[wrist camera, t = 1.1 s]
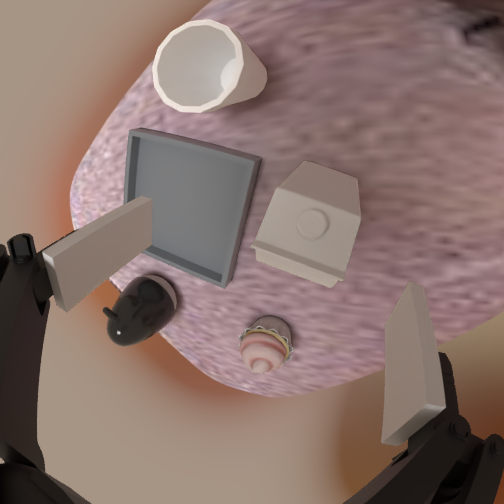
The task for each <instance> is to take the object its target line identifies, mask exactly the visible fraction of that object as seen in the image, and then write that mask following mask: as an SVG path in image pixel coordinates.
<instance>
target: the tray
mask: <svg viewBox="0 0 504 504" xmlns="http://www.w3.org/2000/svg"><path fill="white" fill-rule="evenodd" d="M261 159H262V158H261V157H258V156H254V155H251V154H248V153H244V152H241V151H237V150H233V149H230V148H226V147H222V146H219V145H215V144H211V143H207V142H203V141H199V140H195V139H191V138H187V137H183V136H178V135H174V134H169V133H165V132H160V131H155V130H150V129H145V128H137V129H131V130H129V136H128V145H127V156H126V168H125V183H124V204H126V203H128V202H130V201H132V200H134V199H136V198H138V197H140V196H144V197H147V198H151V199H152V245H151V246H149V247H148V248H147V249H145V250H144V251H143V252H141V253H144V254H146V255H148V256H150V257H153V258H155V259H157V260H159V261H161V262H164V263H166V264H168V265H170V266H173V267H175V268H177V269H180V270H182V271H184V272H186V273H189V274H191V275H193V276H196V277H198V278H200V279H203V280H205V281H207V282H210V283H212V284H215V285H217V286H219V287H222V288H224V289H225V288H226V286H227V285H228V284H229V282H230V281H231V279H232V277H233V273H234V268H235V264H236V260H237V256H238V252H239V248H240V244H241V240H242V235H243V231H244V227H245V223H246V219H247V215H248V211H249V207H250V203H251V199H252V195H253V191H254V187H255V183H256V179H257V175H258V171H259V167H260V163H261ZM124 204H123V205H124Z"/></svg>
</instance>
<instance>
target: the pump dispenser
mask: <svg viewBox="0 0 504 504" xmlns="http://www.w3.org/2000/svg"><path fill="white" fill-rule="evenodd" d="M176 305H177V300H176V295H175V292H174V290H173V288H172V287H171V285H170V284H169V283H168V282H167V281H165V280H164V279H162V278H161V277H158V276H155V275H145V276H142V277H137V278H135V279H133V280H132V281H131V282H130V283H129V284H128V285H127V286H126V288H125V289H124V290H123V291H122V293H121V294H120V295H119V297H118V299H117V300H116V302H115V304H114V306H113V308H112V310H110V309H109V308H108V307H104V308H103V312H104V314H106V316H107V317H108V322H107V333H108V335H109V337H110V339H111V340H112V341H113V342H114V343H115V344H117V345H119V346H130V345H134V344H137V343H140V342H142V341H144V340H146V339H148V338H149V337H152V336H153V335H155V334H156V333H158V332H159V331H160V330H161V329H163V328H164V327H165V326H166V325H167V324H168V323H169V322H170V321H171V320H172V319H173V317H174V314H175V310H176Z"/></svg>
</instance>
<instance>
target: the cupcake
mask: <svg viewBox="0 0 504 504" xmlns="http://www.w3.org/2000/svg"><path fill="white" fill-rule="evenodd" d="M238 338H239V339H240V341H241V343H240V344H239V345H238V347H239V348H240V352H241V355H242V359H243V361H244V364H245V365H246V367H247V368H248V369H249V370H251V371H252V372H254V373H257V374H261V373H265V372H270V371H273V370H276V369H278V368H280V367H281V366H282V365H284V364H285V361H289V360H291V359H292V357H291V352H292V351H293V350H294V348H293V346H292V344H291V333H290V329H289V326H288V325H287V324H286V323H285V322H284V321H283V320H281V319H279V318H277V317H274V316H265V317H262V318H260V319H258V320H257V321H256V322H255V323H254V324H253V325H252V326H250V327H247V328H245V332H244V333H242V334H241V335H239V336H238Z"/></svg>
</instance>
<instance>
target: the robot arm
mask: <svg viewBox="0 0 504 504" xmlns="http://www.w3.org/2000/svg"><path fill="white" fill-rule="evenodd" d="M7 245H8V249H9V252H10V256H9V255H8V254H7V250H6V247H5V246H4V245H2V244H0V457H1V458H2V459H3V460H4V461H5V463H3V464H0V504H91V503H90V502H88V501H87V500H85V499H84V498H83V497H81V496H80V495H79V494H77V493H76V492H74V491H73V490H72V489H71V488H69V487H68V486H66V485H65V484H63V483H61V482H60V481H58V480H56V479H55V478H53V477H52V476H50V475H48V474H47V473H45V464H44V458H43V454H42V451H41V449H40V447H39V445H38V442H37V402H38V386H39V374H40V364H41V355H42V349H43V341H44V335H45V329H46V324H47V318H48V313H49V308H50V301H49V298H50V297H51V296H52V295H54V298H55V301H56V305H57V306H59V307H60V308H61V309H63V310H64V311H66V312H68V311H69V310H70V309H72V308H73V307H74V306H75V305H77V304H78V303H79V302H80V301H81V300H82V299H84V298H85V297H86V296H87V295H88V294H89V293H91V292H92V291H93V290H94V289H96V288H97V287H98V286H99V285H100V284H102V283H103V282H104V281H106V280H107V279H108V278H109V277H111V276H112V275H113V274H114V273H116V272H117V271H118V270H119V269H121V268H122V267H123V266H125V265H126V264H127V263H128V262H130V261H131V260H132V259H134V258H135V257H136V256H137V255H139V254H140V253H141V252H143V251H144V250H145V249H147V248H148V247H149V246H151V245H152V199H151V198H147V197H144V196H140V197H138V198H136V199H134V200H132V201H130V202H128V203H126V204H124V205H122V206H120V207H118V208H116V209H115V210H113V211H111V212H109V213H107V214H105V215H103V216H102V217H100V218H98V219H96V220H94V221H93V222H91V223H89V224H87V225H85V226H84V227H82V228H80V229H77V230H74V231H72V232H71V233H69V234H67V235H66V236H65V237H62V238H61V239H59V241H56V242H54V243H52V244H51V245H49V246H47V247H46V248H44V249H43V250H41V251H40V252H38V253H36V249H35V245H34V240H33V237H32V236H31V235H30V234H25V233H23V234H19V235H16V236H14V237H12V238H11V239H9V241H8V242H7ZM407 439H408V448H407V449H406V450H404V451H403V452H401V453H400V454H398V455H397V456H396V457H394V458H393V459H392V460H393V462H392V463H391V464H390V465H389V466H387V467H386V468H385V469H384V470H383V471H382V472H381V473H380V474H379V475H378V476H376V477H375V478H374V479H373V480H372V481H371V482H369V483H368V484H367V485H366V486H365V487H363V488H362V489H361V490H360V491H359V492H357V493H356V494H355V495H353V496H352V497H351V498H350V499H348V500H347V501H346V502H344V503H343V504H493V503H494V500H495V497H496V494H497V490H498V487H499V484H500V480H501V477H502V473H503V469H504V439H503V438H502V437H501V436H500V435H497V434H491V435H490V436H489V437H488V438H486V439H485V440H482V439H481V438H479V437H477V436H475V435H473V434H471V429H470V425H469V423H468V422H467V420H466V419H465V418H464V417H462V416H461V415H459V411H458V403H457V395H456V389H455V385H454V377H453V371H452V366H451V363H450V361H449V359H448V357H447V356H446V354H445V353H441V352H438V349H437V343H436V338H435V334H434V329H433V324H432V320H431V316H430V312H429V307H428V303H427V300H426V296H425V292H424V288H423V286H422V285H419V284H416V283H413V282H410V281H409V282H408V284H407V286H406V288H405V290H404V292H403V294H402V295H401V297H400V299H399V301H398V303H397V304H396V306H395V308H394V310H393V312H392V313H391V315H390V317H389V318H388V320H387V322H386V324H385V399H384V418H383V430H382V441H381V443H383V444H389V445H396V446H399V445H401V444H402V443H404V442H405V441H406V440H407Z"/></svg>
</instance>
